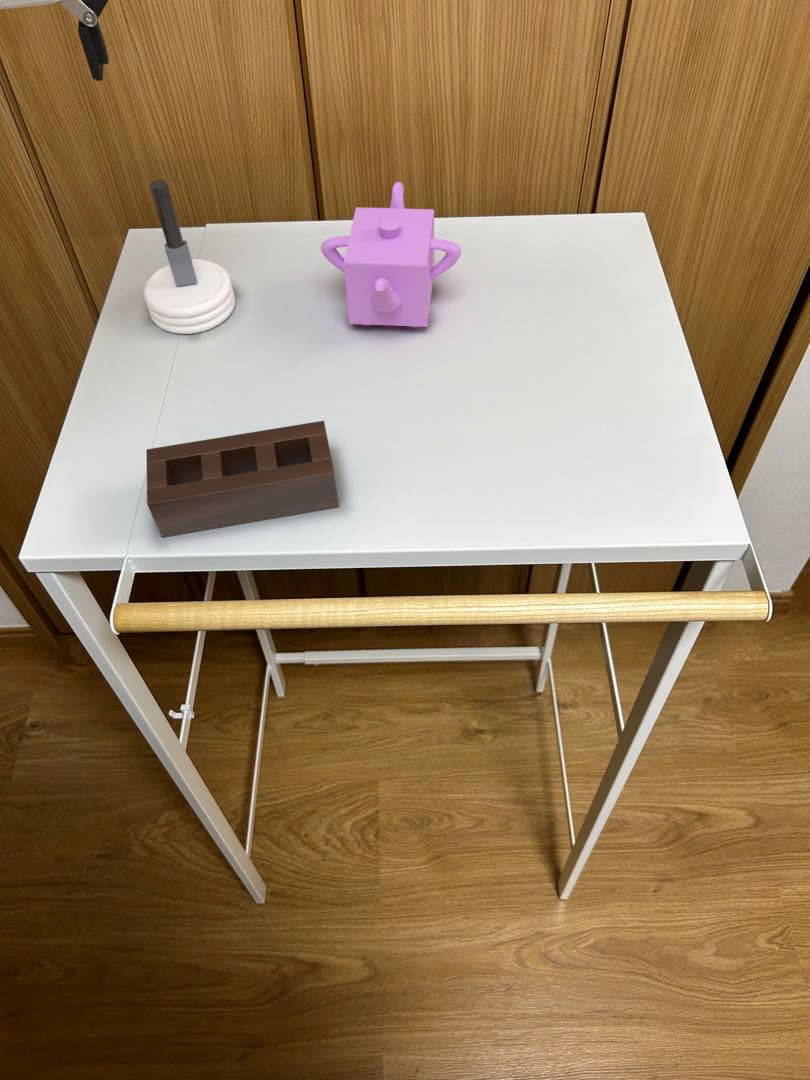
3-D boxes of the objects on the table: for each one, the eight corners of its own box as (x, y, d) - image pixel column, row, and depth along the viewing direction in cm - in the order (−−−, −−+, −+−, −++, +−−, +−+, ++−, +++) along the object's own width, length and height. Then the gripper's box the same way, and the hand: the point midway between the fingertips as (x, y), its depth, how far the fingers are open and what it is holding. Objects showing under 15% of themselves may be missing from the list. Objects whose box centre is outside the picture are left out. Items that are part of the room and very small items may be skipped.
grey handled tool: (197, 285, 94) (170, 187, 85) (176, 289, 94) (146, 190, 85) (196, 276, 96) (169, 177, 86) (175, 279, 95) (146, 181, 86)
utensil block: (339, 507, 79) (334, 472, 75) (161, 537, 78) (146, 504, 74) (329, 455, 83) (323, 420, 79) (160, 483, 82) (146, 449, 78)
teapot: (479, 316, 95) (483, 231, 86) (383, 365, 91) (378, 281, 82) (402, 253, 103) (399, 170, 94) (310, 295, 98) (298, 212, 90)
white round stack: (228, 275, 101) (222, 250, 98) (242, 325, 96) (236, 300, 93) (146, 291, 100) (138, 266, 97) (155, 344, 94) (146, 318, 91)
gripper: (76, -216, 58) (145, 48, 71) (-184, -194, 56) (-63, 72, 70) (72, -187, 53) (146, 89, 67) (-212, -162, 52) (-76, 115, 65)
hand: (39, 80), depth 68 cm, fingers open, 9 cm apart
